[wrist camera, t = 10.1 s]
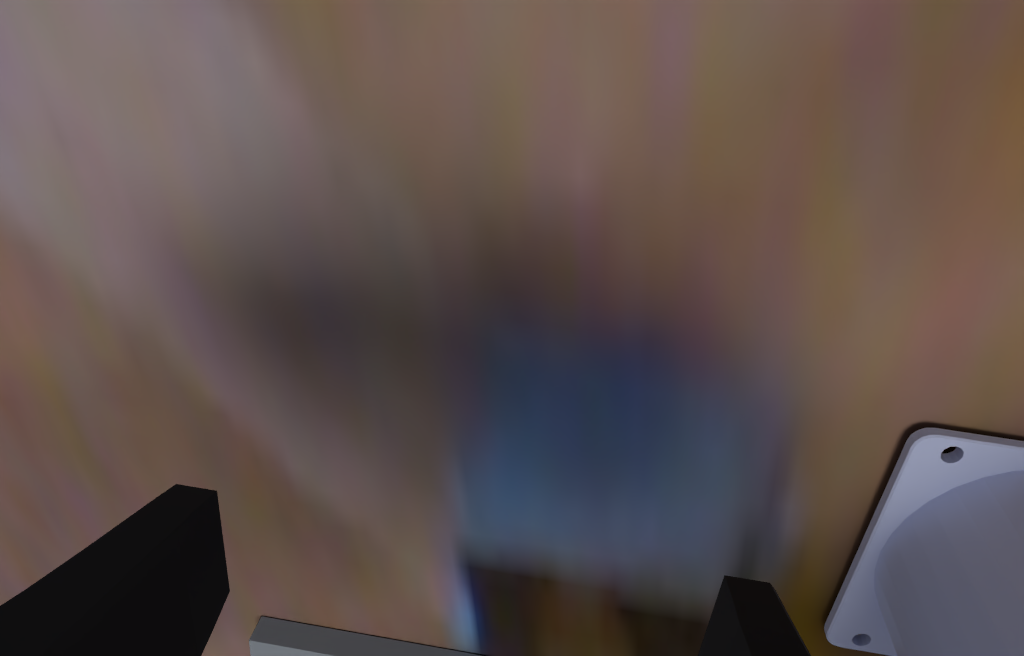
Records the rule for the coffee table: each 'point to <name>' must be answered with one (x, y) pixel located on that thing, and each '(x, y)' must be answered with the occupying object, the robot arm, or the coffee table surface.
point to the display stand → (330, 642)
